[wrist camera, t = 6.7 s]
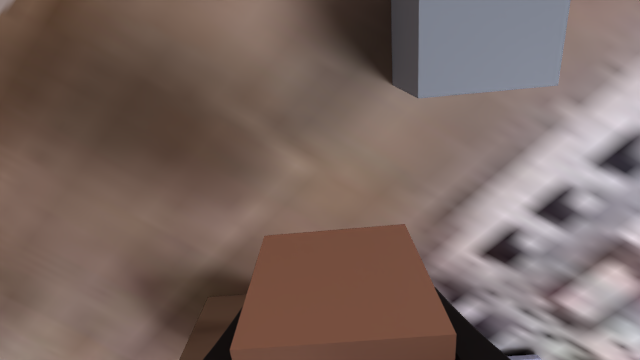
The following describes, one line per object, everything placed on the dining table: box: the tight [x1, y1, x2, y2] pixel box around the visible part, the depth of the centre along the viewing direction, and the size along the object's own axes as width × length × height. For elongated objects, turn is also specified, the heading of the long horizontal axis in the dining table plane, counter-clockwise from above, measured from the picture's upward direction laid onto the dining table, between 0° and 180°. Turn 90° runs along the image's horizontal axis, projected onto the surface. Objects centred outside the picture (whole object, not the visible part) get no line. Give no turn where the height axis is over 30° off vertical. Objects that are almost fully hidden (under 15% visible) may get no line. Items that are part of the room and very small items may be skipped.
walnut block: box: [180, 294, 247, 360], centre depth 20 cm, size 5×5×5 cm
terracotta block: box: [230, 224, 457, 360], centre depth 11 cm, size 5×5×5 cm
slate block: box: [391, 0, 570, 98], centre depth 14 cm, size 5×5×5 cm
